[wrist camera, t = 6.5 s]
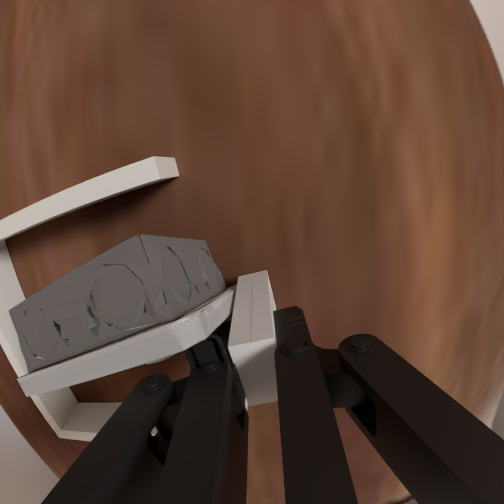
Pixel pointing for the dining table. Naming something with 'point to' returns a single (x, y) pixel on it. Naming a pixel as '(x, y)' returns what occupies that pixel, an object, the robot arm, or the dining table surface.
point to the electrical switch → (121, 312)
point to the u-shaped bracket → (10, 294)
